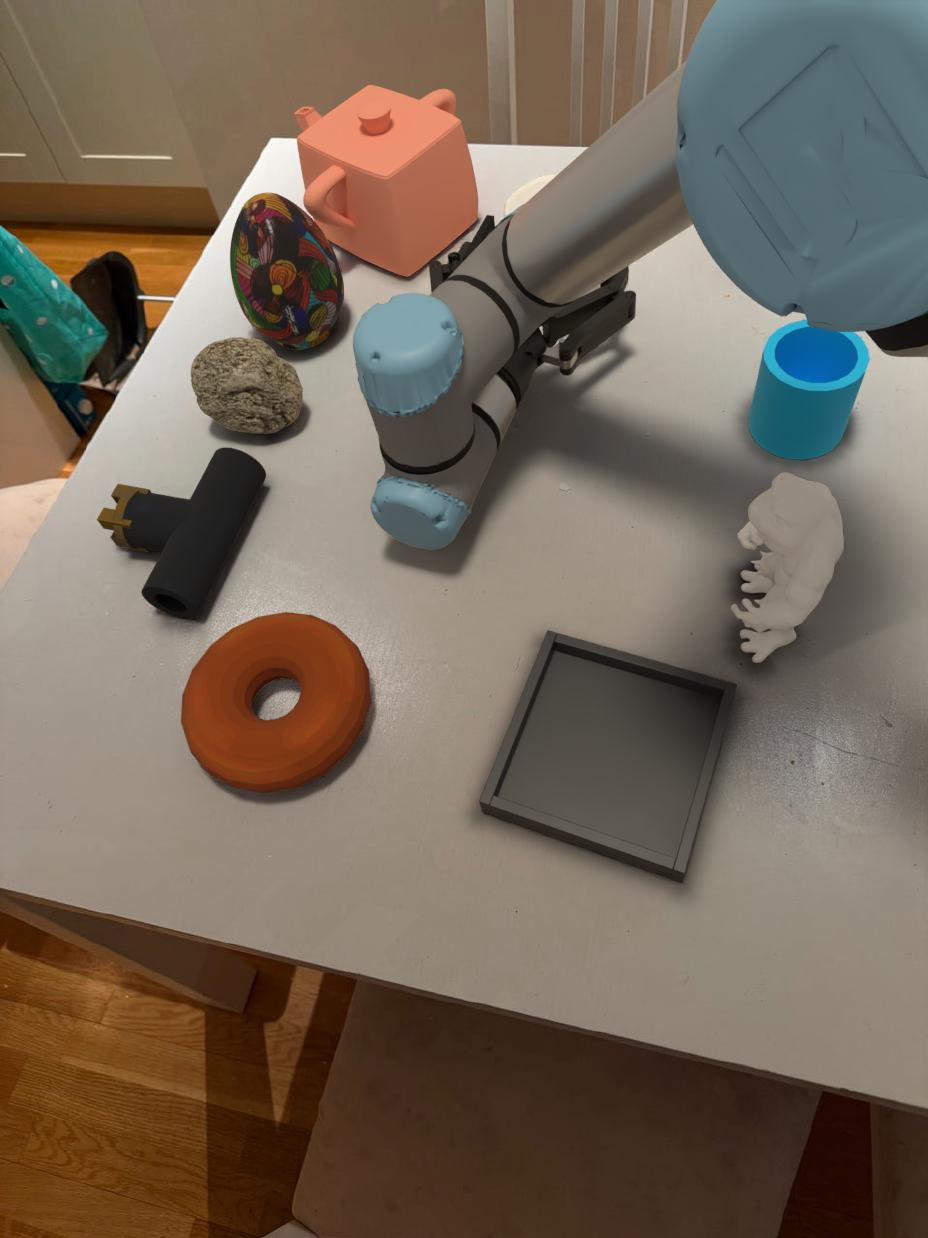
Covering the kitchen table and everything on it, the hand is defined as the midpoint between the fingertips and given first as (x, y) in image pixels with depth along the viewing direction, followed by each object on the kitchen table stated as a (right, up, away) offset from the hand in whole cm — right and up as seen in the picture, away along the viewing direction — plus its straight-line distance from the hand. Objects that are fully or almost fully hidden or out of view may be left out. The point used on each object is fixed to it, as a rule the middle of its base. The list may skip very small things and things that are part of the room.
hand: (556, 236), depth 86 cm
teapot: (-18, +8, +14) cm, 24 cm away
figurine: (+15, -37, -17) cm, 43 cm away
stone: (-29, -18, +1) cm, 34 cm away
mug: (+21, -19, -7) cm, 29 cm away
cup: (+1, -3, +5) cm, 6 cm away
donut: (-23, -45, -16) cm, 53 cm away
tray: (+2, -47, -21) cm, 52 cm away
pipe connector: (-34, -31, -6) cm, 46 cm away
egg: (-26, -7, +7) cm, 28 cm away
